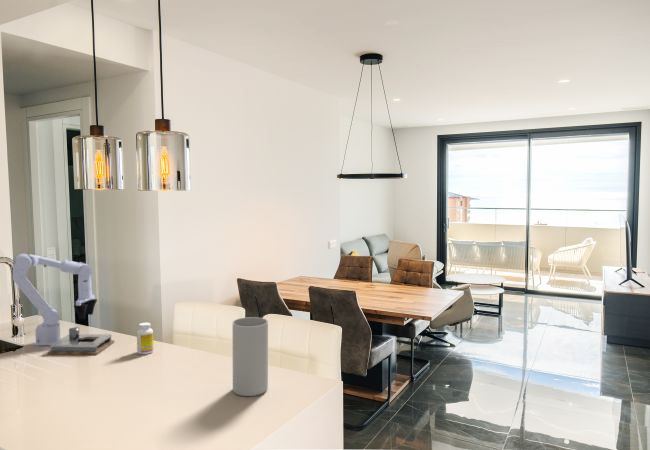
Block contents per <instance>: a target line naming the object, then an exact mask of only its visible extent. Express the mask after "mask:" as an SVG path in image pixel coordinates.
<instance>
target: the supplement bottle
mask: <svg viewBox="0 0 650 450" xmlns="http://www.w3.org/2000/svg"><path fill="white" fill-rule="evenodd" d="M138 324H139V326H138V328H139V329H137V331H136V343H137V344H136V347H137V348H136V351H137V354H139V355H149V354H151V353H153V352H154V331H153V329H152V328H151V322H140V323H138Z"/></svg>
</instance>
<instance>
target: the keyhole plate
mask: <svg viewBox="0 0 650 450" xmlns="http://www.w3.org/2000/svg"><path fill="white" fill-rule="evenodd" d="M111 340H112V334H106V333H105V334H101V333H99V334H93V333H91V334H89V333H88V334H87V333H86V334H85V333H83V334H81V333H79V338H78V341H71V339H69V334H67V335H65V336H63V337H62V338H60V340H58V341H56V342H55V343H53V344H51V345H50V351H51V352H97V351H98V345H100V344H101V343H103V342H110V341H111Z"/></svg>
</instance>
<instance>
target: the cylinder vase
mask: <svg viewBox="0 0 650 450" xmlns="http://www.w3.org/2000/svg"><path fill="white" fill-rule="evenodd" d="M268 365H269V320H267V319H266V318H262V317H257V316H250V317H248V316H247V317H242V318H241V317H240V318H237V319H234V320H233V321H232V391H233V393H234V394H235V395H238V396H240V397H247V396H249V397H257V396H259V395H262V394H264V393H266V391H267V390H268V386H269V366H268Z"/></svg>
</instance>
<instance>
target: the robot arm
mask: <svg viewBox="0 0 650 450" xmlns="http://www.w3.org/2000/svg"><path fill="white" fill-rule="evenodd" d="M40 265H42V266H47V267H52V268H58V269H59V271H60V272H63V273H68V274H71V275H78V276H77V278H78V279H77V288H78V289H77V291H78V298H77V300H76V301H75V304H73V308H74V309H75V310H76V312H77V314H78V318H79V320H85V319H86V313H87V315H88V316H91V315H93V314H94V310H95V305H96V303H97V301H98V300H97V298H96V296H95V295H96V294H93V291H92V288H93V287H92V286H93V285H92V284H93V283H92V274H93V270H92V267H91V266H90V265H89V264H87V263H86V262H82V261H79V262H78V261H73V260H72V259H70V258H68V259H63V260H62V261H61V260H58V259H57V260H56V259H53V258H49V257H45V256H42V255H36V254H33V253H32V254H31V253H29V254H28V253H24V252H23V253H19V254H17V255H16V256H15V258H14V259H13V262H12V280H13V282H14V283H15V284H16V285H17V287H18V288H19V289H20V290H21V291H22V292H23V294H24V295H25V296H26V298H27V299H28V300H29V301H30V302H31V303H32V305H33V306H34V307H35V309H36V310H37V311H38V312H39V314H40V316H41V317H42V319H43V320H42V321H43V322H42V323H41V324H37V326H36V328H35V344H34V346H51V344H53V343H55V342H56V341H58V340H60V339H61V322H60V315H59V313H58V311H57V310H56V309H55V308H53V307H51V305H50V304H48V303H47V301H46V300H45V298H44V297H43V296H42V295H41V294H40V293H39V292H38V290H37V289H36V287H34V285H33V284H32V283H31V281H30V280H29V278H27V273H28V270H29V269H30V267H31V266H33V267H36V266H40Z"/></svg>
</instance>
